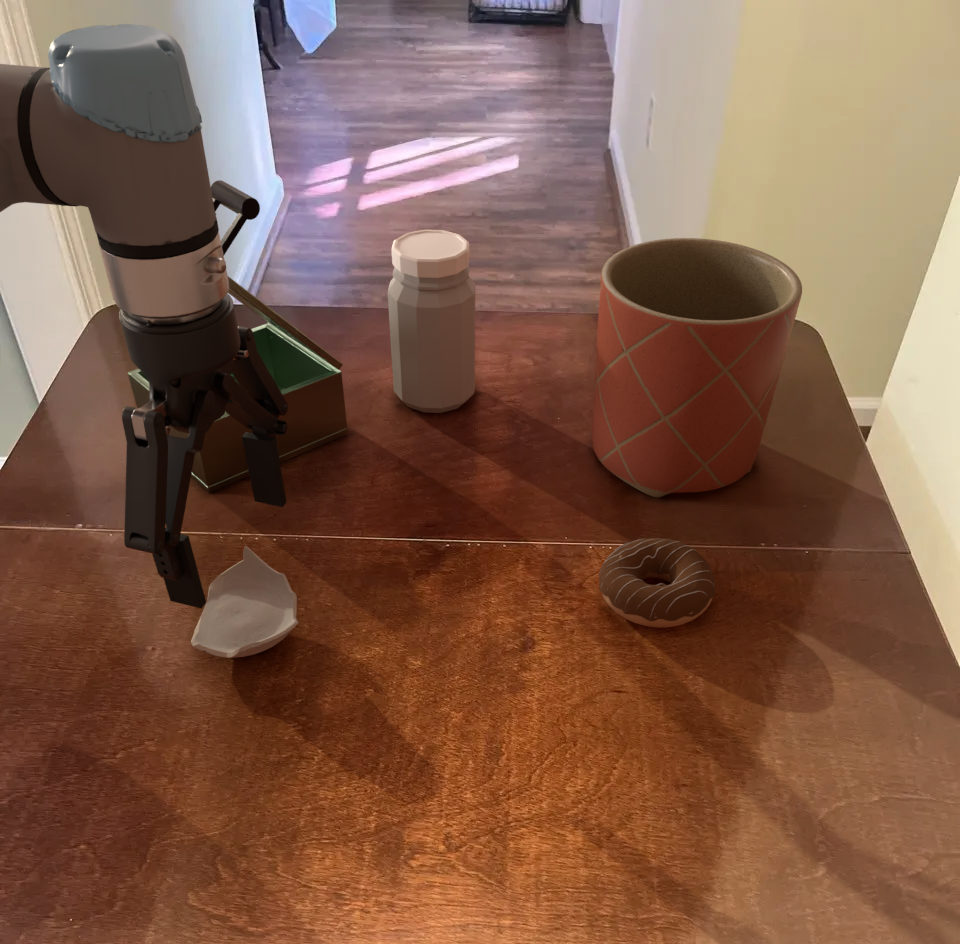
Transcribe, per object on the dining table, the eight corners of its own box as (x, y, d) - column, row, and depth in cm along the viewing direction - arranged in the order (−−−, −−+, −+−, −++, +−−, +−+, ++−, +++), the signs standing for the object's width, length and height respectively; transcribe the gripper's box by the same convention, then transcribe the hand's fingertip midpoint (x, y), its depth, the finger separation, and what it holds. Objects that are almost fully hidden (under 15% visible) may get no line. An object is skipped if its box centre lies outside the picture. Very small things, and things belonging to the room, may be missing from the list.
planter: (641, 524, 99) (668, 340, 85) (554, 429, 111) (566, 255, 98) (795, 479, 105) (845, 300, 91) (697, 394, 117) (727, 225, 103)
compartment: (209, 493, 102) (194, 428, 97) (144, 434, 110) (127, 371, 105) (348, 434, 111) (341, 371, 105) (278, 383, 118) (268, 322, 113)
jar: (377, 393, 117) (365, 242, 104) (439, 366, 122) (435, 218, 109) (430, 426, 112) (424, 272, 99) (492, 396, 117) (495, 245, 104)
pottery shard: (238, 582, 92) (230, 540, 89) (342, 616, 89) (337, 574, 86) (171, 653, 85) (159, 611, 82) (280, 692, 82) (272, 650, 79)
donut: (720, 638, 87) (728, 605, 84) (601, 636, 87) (605, 603, 85) (703, 561, 95) (710, 528, 92) (593, 559, 95) (597, 526, 92)
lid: (214, 276, 90) (264, 198, 89) (140, 227, 97) (185, 155, 96) (339, 370, 105) (382, 304, 104) (266, 321, 113) (306, 260, 112)
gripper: (115, 402, 56) (192, 662, 71) (308, 235, 73) (337, 474, 88) (6, 381, 58) (103, 639, 73) (218, 223, 75) (262, 458, 90)
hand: (231, 549), depth 80 cm, fingers open, 13 cm apart
